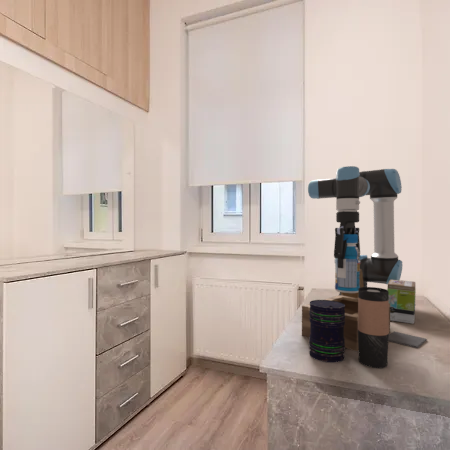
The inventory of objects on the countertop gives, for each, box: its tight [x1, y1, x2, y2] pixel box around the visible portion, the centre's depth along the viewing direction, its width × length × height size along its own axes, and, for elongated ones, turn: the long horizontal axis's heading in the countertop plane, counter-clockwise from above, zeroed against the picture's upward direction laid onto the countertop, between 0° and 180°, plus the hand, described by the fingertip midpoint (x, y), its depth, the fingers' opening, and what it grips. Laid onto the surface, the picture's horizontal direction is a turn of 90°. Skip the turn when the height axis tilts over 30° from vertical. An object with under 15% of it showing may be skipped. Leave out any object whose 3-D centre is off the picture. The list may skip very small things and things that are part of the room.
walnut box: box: [301, 294, 391, 352], centre depth 110 cm, size 27×19×10 cm
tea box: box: [386, 279, 417, 325], centre depth 131 cm, size 15×10×15 cm, turn 149°
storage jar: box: [308, 299, 346, 364], centre depth 91 cm, size 10×10×15 cm
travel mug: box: [358, 286, 390, 369], centre depth 87 cm, size 8×8×20 cm
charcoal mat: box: [388, 330, 428, 349], centre depth 104 cm, size 10×10×1 cm
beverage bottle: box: [334, 234, 361, 293], centre depth 111 cm, size 8×8×20 cm
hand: (347, 276), depth 111 cm, fingers closed on beverage bottle, 8 cm apart
